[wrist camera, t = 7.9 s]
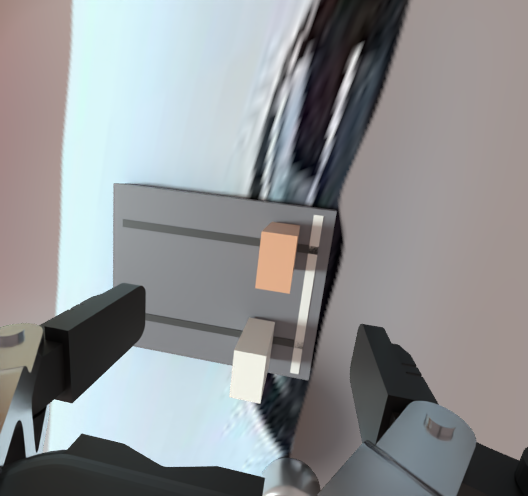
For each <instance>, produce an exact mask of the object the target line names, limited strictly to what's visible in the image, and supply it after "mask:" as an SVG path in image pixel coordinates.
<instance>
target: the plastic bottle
mask: <svg viewBox="0 0 528 496" xmlns="http://www.w3.org/2000/svg"><path fill="white" fill-rule="evenodd" d="M261 477H264V478H265V482H264V489H263V495H262V496H316V495H317V494H318V493H319V492H320V491H321V490H320V485H319V481H318V479H317V477H316V475H315V474H314V472H313V471H312V470H311V469H310V467H309V466H308V465H306V464H305V463H303V462H302V461H300V460H297V459H293V458H280V459H277V460H275V461H273V462H272V463H271V464H269V465H268V466H267V467H266V468H265V469H264V471H263V472H262V475H261Z"/></svg>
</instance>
